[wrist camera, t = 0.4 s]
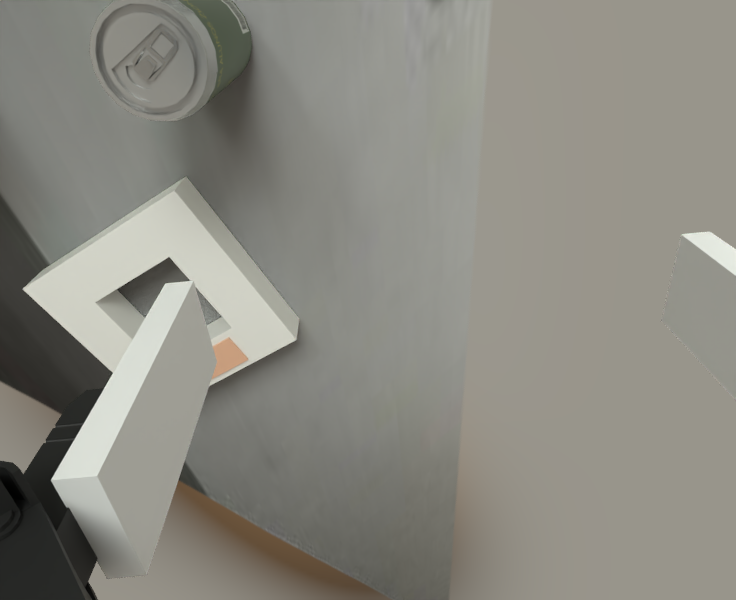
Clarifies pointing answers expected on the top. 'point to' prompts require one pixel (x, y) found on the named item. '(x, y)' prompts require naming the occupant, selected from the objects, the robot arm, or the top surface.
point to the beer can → (168, 54)
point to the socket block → (193, 257)
